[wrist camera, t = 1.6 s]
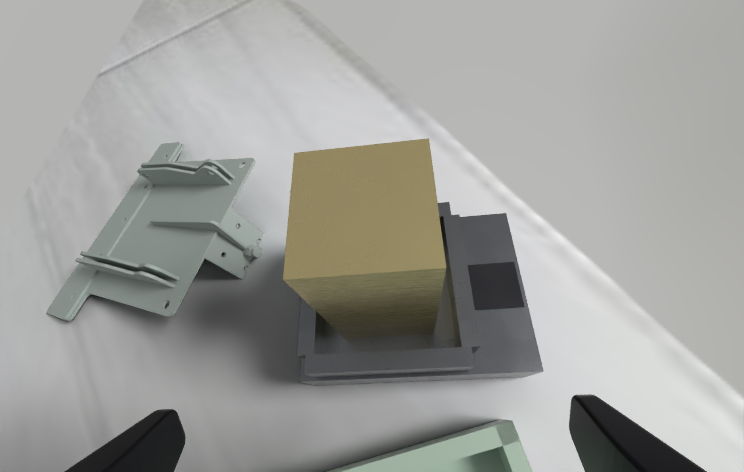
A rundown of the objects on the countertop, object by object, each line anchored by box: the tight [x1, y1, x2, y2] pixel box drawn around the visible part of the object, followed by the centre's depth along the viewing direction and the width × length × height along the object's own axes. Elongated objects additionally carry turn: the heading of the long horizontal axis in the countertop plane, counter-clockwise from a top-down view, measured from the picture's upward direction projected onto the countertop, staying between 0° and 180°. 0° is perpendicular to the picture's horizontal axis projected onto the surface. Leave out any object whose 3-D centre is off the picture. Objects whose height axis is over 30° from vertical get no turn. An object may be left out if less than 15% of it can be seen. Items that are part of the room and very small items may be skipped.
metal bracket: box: [47, 142, 264, 321], centre depth 25 cm, size 14×6×15 cm
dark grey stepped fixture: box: [297, 202, 543, 386], centre depth 19 cm, size 8×12×5 cm
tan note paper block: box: [283, 139, 446, 339], centre depth 14 cm, size 4×4×9 cm
